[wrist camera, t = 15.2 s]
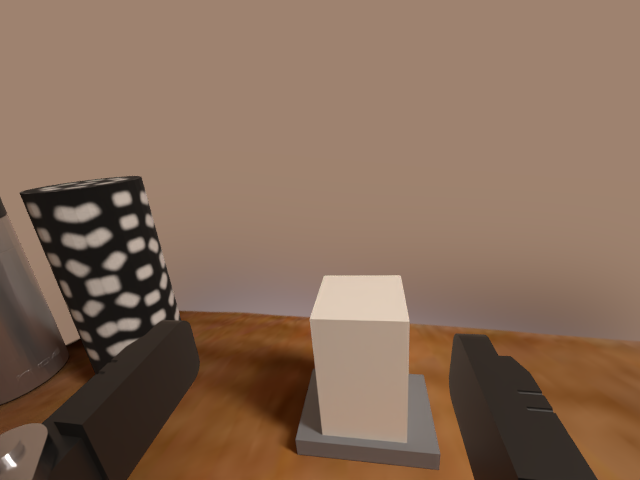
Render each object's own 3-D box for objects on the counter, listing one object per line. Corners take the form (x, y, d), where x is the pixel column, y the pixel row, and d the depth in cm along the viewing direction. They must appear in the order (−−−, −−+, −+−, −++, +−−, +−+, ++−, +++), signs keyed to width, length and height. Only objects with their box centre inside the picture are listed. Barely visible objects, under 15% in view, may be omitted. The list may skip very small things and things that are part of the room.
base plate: (297, 454, 22) (287, 386, 20) (314, 381, 29) (307, 323, 27) (439, 469, 20) (444, 397, 18) (422, 388, 27) (425, 327, 25)
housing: (322, 434, 22) (309, 319, 19) (332, 373, 27) (324, 275, 24) (406, 443, 21) (409, 321, 18) (399, 377, 26) (400, 275, 23)
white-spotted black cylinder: (155, 339, 37) (104, 177, 31) (207, 352, 34) (162, 174, 27) (84, 390, 30) (-3, 193, 23) (141, 414, 27) (58, 193, 20)
